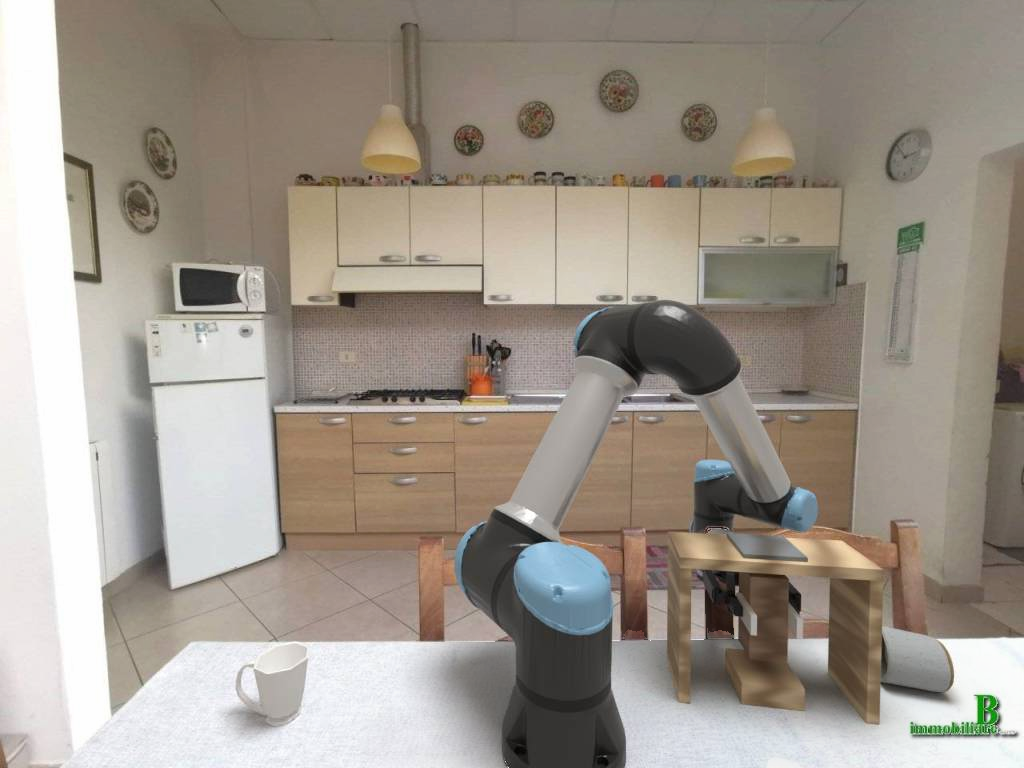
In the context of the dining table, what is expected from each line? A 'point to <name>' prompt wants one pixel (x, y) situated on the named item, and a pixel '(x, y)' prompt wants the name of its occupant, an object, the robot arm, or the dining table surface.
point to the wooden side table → (848, 570)
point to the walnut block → (765, 616)
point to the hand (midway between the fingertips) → (776, 627)
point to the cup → (278, 682)
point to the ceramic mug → (915, 661)
